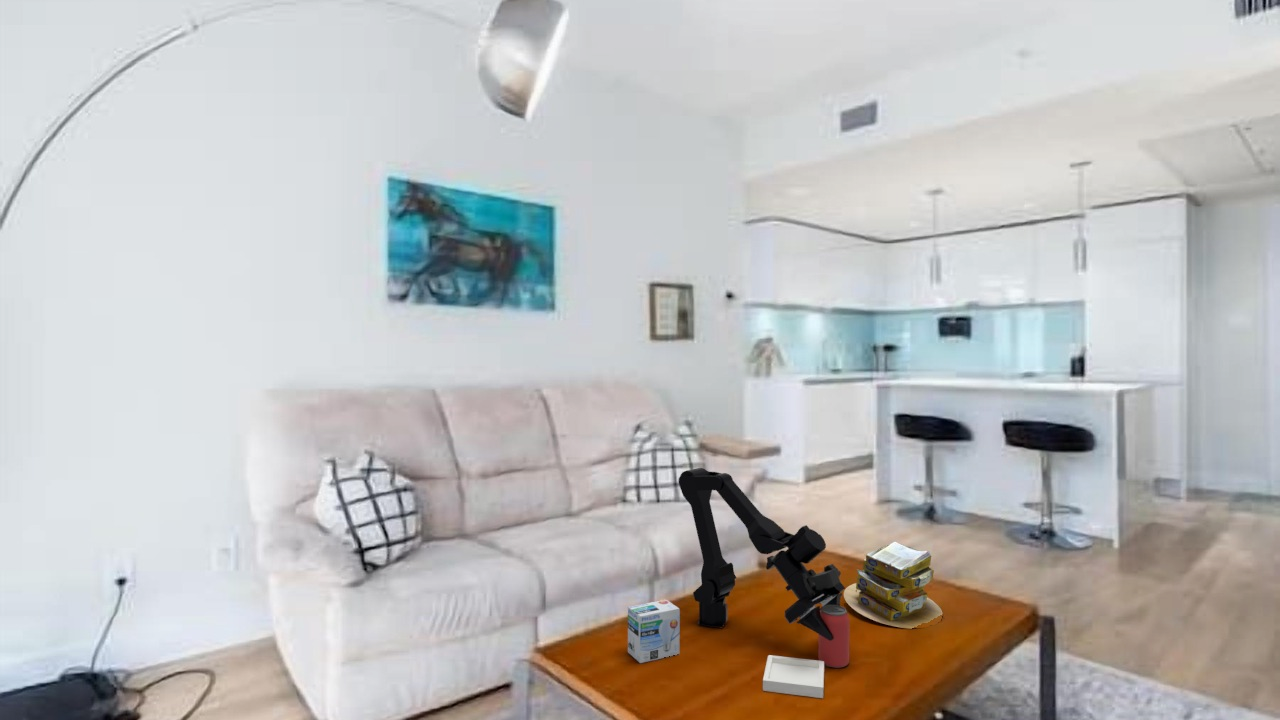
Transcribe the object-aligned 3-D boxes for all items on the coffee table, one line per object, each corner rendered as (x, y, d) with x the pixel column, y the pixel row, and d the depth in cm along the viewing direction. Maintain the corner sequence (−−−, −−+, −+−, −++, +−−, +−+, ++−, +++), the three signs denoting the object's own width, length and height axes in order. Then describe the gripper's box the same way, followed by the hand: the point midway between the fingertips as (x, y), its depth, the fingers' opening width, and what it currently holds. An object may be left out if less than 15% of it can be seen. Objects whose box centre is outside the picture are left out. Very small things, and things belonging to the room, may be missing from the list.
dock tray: (762, 690, 144) (762, 680, 144) (768, 664, 155) (768, 654, 155) (823, 698, 141) (823, 687, 140) (824, 671, 152) (824, 661, 152)
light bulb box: (639, 664, 156) (639, 616, 156) (626, 652, 162) (626, 606, 162) (681, 654, 161) (681, 607, 161) (666, 643, 167) (666, 598, 167)
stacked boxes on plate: (964, 619, 180) (964, 555, 180) (890, 636, 170) (890, 567, 170) (893, 589, 203) (893, 531, 203) (824, 602, 193) (824, 541, 193)
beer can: (850, 670, 152) (850, 615, 152) (819, 667, 154) (819, 613, 154) (847, 657, 159) (847, 604, 159) (817, 654, 160) (817, 602, 160)
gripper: (796, 564, 152) (844, 629, 144) (837, 546, 165) (882, 604, 158) (765, 592, 157) (809, 655, 150) (807, 572, 171) (849, 629, 164)
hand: (839, 634), depth 155 cm, fingers closed on beer can, 7 cm apart
